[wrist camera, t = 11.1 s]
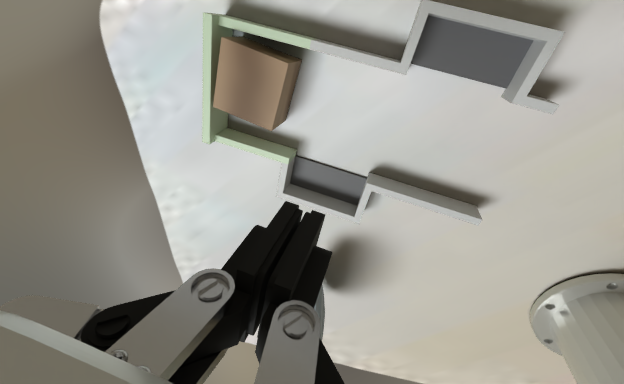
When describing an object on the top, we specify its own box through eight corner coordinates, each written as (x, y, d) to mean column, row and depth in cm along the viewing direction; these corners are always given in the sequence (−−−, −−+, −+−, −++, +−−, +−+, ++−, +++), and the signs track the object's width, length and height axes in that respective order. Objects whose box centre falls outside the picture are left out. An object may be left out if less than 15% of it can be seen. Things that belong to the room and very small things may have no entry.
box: (581, 39, 20) (612, 41, 18) (453, 242, 31) (458, 264, 28) (227, -44, 24) (203, -55, 21) (219, 164, 34) (202, 177, 31)
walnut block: (302, 59, 26) (288, 63, 23) (286, 119, 30) (271, 131, 26) (244, 36, 27) (221, 36, 23) (234, 98, 30) (212, 106, 27)
